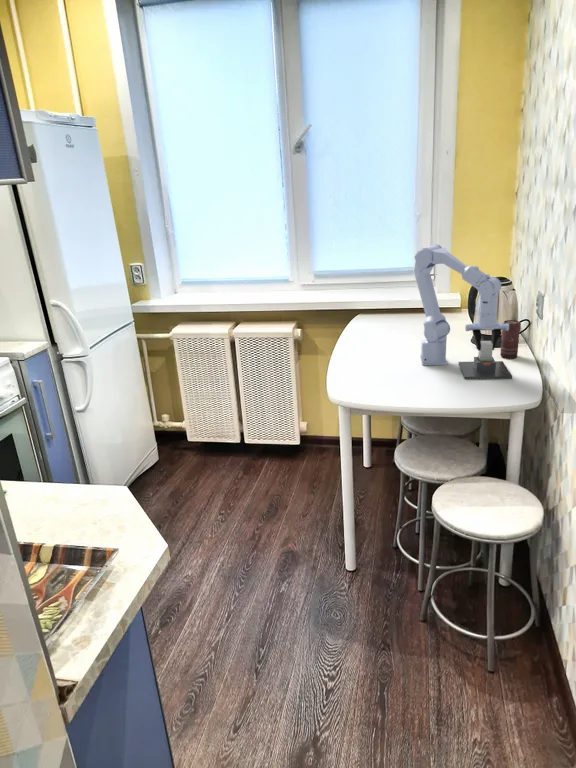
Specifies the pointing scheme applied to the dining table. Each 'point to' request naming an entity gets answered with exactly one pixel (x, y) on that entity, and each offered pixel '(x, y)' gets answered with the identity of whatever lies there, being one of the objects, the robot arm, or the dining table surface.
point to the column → (485, 351)
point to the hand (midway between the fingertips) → (485, 349)
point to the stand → (484, 370)
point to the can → (510, 340)
